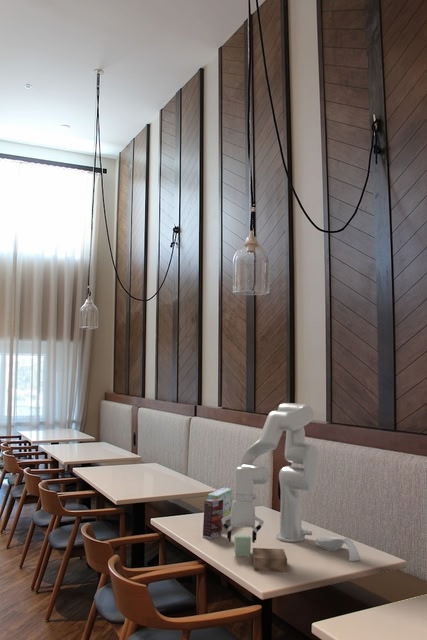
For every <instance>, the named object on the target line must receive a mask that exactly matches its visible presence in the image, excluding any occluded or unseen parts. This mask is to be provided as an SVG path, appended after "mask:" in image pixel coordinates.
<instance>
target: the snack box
mask: <svg viewBox="0 0 427 640" xmlns="http://www.w3.org/2000/svg"><path fill="white" fill-rule="evenodd" d="M232 492H233V491H232V488H228V487H222V488H219V489H217V490H215V491H213V492H210V493H208V494H207V499H206V500H210V499H214V498H218V499H223V517H222V518H224V517H226V516H228V515H230V510H231V504H232ZM228 520H229V521H230V519H228ZM228 520H226V521H225V522H227V521H228Z"/></svg>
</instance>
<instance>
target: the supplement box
mask: <svg viewBox="0 0 427 640" xmlns="http://www.w3.org/2000/svg"><path fill="white" fill-rule="evenodd" d="M203 508H204V509H203V522H202V523H203V524H202V525H203V527H202V538H205V539H209V540H211V539H215V538H218V537H220V536H221V537H222V535H223V532H222V531H223V523H222V521H221V519H222V517H223V499H218V498H214V499H210V500H207V499H205V500H204V504H203Z"/></svg>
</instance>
